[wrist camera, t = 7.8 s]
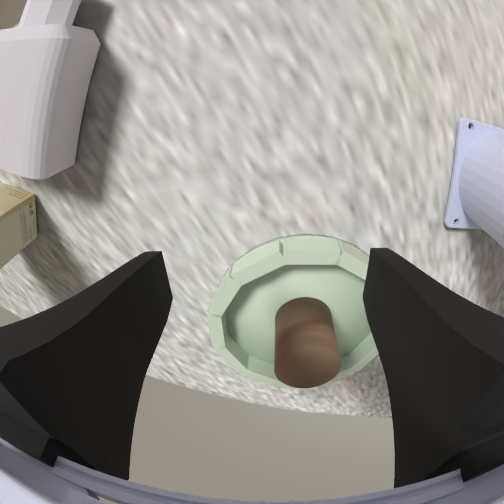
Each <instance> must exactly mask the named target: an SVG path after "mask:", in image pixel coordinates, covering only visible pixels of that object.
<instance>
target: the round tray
mask: <svg viewBox="0 0 504 504" xmlns="http://www.w3.org/2000/svg"><path fill="white" fill-rule="evenodd" d="M368 262H369V255H368V254H367V253H365V252H364V251H363V250H361V249H360V248H358V247H357V246H355V245H353V244H351V243H349V242H347V241H344V240H341V239H338V238H334V237H329V236H324V235H313V234H303V235H292V236H286V237H281V238H278V239H274V240H271V241H268V242H266V243H263V244H261V245H259V246H256V247H255V248H253V249H251V250H250V251H248V252H246V253H245V254H244V255H242V256H241V257H240V258H239V259H237V260H236V261H235V262H234V263H233V264H231V266H230V268H229V269H228V270H227V271H226V273H225V274H224V276H223V277H222V279H221V281H220V283H219V285H218V288H217V290H216V292H215V293H214V295H213V297H212V298H211V302H210V305H209V309H208V313H207V318H208V323H209V329H210V335H211V340H212V346H213V348H214V350H215V351H216V352H217V353H218V354H219V355H220V356H221V357H222V358H223V359H224V360H225V361H226V362H227V363H228V364H229V365H230V366H231V367H232V368H233V369H234V370H235V371H236V372H237V373H238V374H239V373H241V375H242V376H245V377H248V378H251V379H253V380H256V381H259V382H262V383H265V384H268V385H271V386H274V387H276V386H277V385H278V387H291V386H288V385H286V384H284V383H282V382H281V381H279V380H278V379H277V377H276V376H275V373H274V354H275V316H276V313H277V311H278V309H279V308H280V307H281V306H282V305H283V304H285V303H286V302H288V301H290V300H292V299H295V298H300V297H311V298H316V299H319V300H321V301H322V302H324V303H325V304H326V305H327V306H328V307H329V309H330V311H331V315H332V320H333V325H334V330H335V335H336V340H337V345H338V350H339V356H340V361H341V368H340V371H339V373H338V374H337V375H336V376H335V377H334V378H333V379H332V380H330V381H329V382H327V383H325V384H328V383H331V382H334V381H337V380H339V379H342V378H345V377H347V376H350V375H353V374H355V373H356V371H357V372H359V371H360V370H361V369H362V368H363V367H365V366H366V365H367V364H368V363H369V362H370V361H371V360H373V359H374V358H375V357H376V356H377V355H378V354H379V353H378V350H377V347H376V344H375V342H374V339H373V336H372V333H371V330H370V327H369V324H368V321H367V317H366V312H365V307H364V302H363V297H362V296H363V291H364V285H365V280H366V274H367V268H368ZM325 384H323V385H325ZM320 386H322V385H320ZM316 387H317V386H316Z"/></svg>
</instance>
